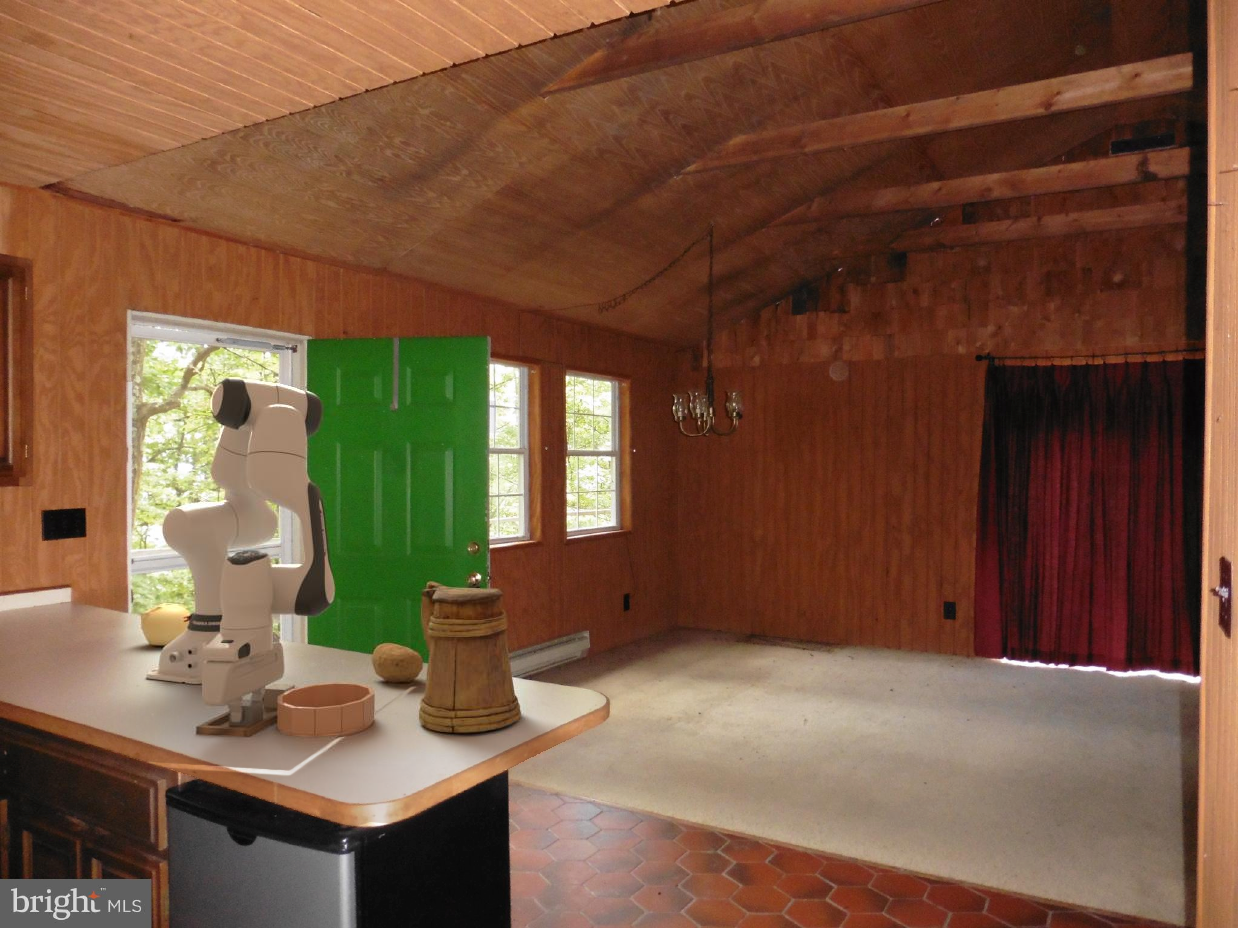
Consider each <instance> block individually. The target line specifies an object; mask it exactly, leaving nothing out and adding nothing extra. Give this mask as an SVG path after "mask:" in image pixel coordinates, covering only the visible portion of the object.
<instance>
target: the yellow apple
mask: <svg viewBox="0 0 1238 928" xmlns="http://www.w3.org/2000/svg"><path fill="white" fill-rule="evenodd" d="M191 614H192V613H191V612H190V611H189V610H188V607H187V605H186V606H185V605H183V604H181V603H171V602H170V603H168V602H167V603H161V604H159V605H157V606H155V607H153V608H150V609H148V610H145V611H144V612H142V613H141V614H140V629H141V630H142V633H143V635H144V638H145V640H146V641H147V643H148V644H149V645H150V646H166V645H167V644H169V643H170V642H171V641H173V640H174V639H175V638H176V637H178V636H179V635H180V634H182V633H183V632H184V631H185V630H187V629H188V628H187V627H188V624H189V621H187V622H183V621H184V620H186V619H187V618H183V617H186V616H190V615H191Z"/></svg>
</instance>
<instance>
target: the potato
mask: <svg viewBox="0 0 1238 928" xmlns="http://www.w3.org/2000/svg"><path fill="white" fill-rule="evenodd" d="M371 662H372V663H371V664H372V666H373V668H374V672H375V674H376V675H377V676H378V677H380V678H382V679H383V680H384V681H386V682H388V683H394V684H395V683H410V682H411V681H412V680H414V679H416V678H418V677H419V675H420V674H421V672H422V670H423V669H424V667H423V666H424V661H423V658H422V656H421V654H420V653H419V652H418V651H415V650H413V649H412V648H409V647H407V646H405V645H404V646H403V645H400V644H397V643H391V642H387V643H386V642H385V643H382V644H378V645H377V646H376V648H375V649H374V651H373V653H372V656H371Z"/></svg>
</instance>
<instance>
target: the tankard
mask: <svg viewBox="0 0 1238 928" xmlns="http://www.w3.org/2000/svg"><path fill="white" fill-rule="evenodd" d="M420 595H421V605H420V622H421V629H422V632H423V633H422V634H423V638H424V642H425V644H426V647H427V648H426V649H427V651H428V653H429V656H428V662H427V670H426V680H425V689H424V694H423V695H424V696H422V698H421V700H420V703H419V704H420V705H419V706H420V707H419V709H418V714H419V715H418V720H419V723H420V724H421V725H422V726H423V727H425V728H426V729H428V730H432V731H435V732H441V733H446V734H447V733H451V734H452V733H455V734H457V733H458V734H467V733H469V734H470V733H479V732H486V731H492V730H496V729H501V728H505V727H507V726H510V725H512V724H514V723H515V722H517V721H518V720H519V719H521V716H522V711H521V705H520V703H519V698H518V697H517V695H516V693H515V692H516V691H515V687H514V681H513V673H512V667H511V660H510V654H509V648H508V639H507V632H506V629H508V621H507V616H506V615H507V614H506V611H505V610H504V609H503V608H502V607H503V606H502V604H501V603H502V602H501V597H503V596H504V593H503V592H502V590H500V589H499V588H481V587H478V588H477V587H453V586H452V587H451V586H445V585H444V584H441V583H437V582H435V581H428V582H427V584H426V586H425V589H422V591H421V594H420Z"/></svg>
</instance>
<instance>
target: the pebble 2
mask: <svg viewBox="0 0 1238 928" xmlns="http://www.w3.org/2000/svg"><path fill="white" fill-rule="evenodd" d="M295 688H296V685H295V684H284V683H272V684H271V685H269V686H267V687H266V686H265V693H264V707H267V708H277V702H278V696H279V695H281V694H283V693H285V692H287V691H289V690H291V689H295Z"/></svg>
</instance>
